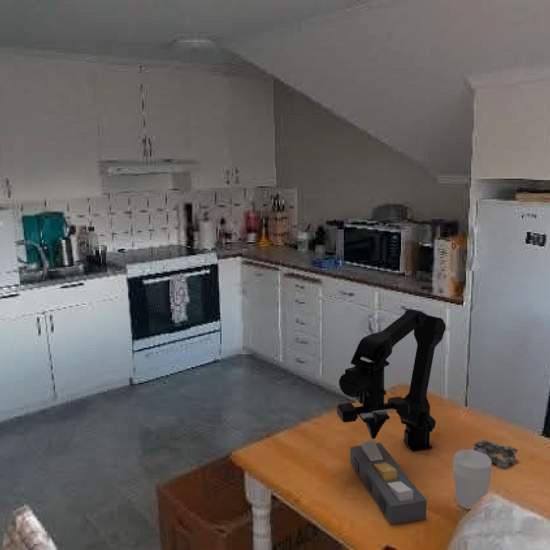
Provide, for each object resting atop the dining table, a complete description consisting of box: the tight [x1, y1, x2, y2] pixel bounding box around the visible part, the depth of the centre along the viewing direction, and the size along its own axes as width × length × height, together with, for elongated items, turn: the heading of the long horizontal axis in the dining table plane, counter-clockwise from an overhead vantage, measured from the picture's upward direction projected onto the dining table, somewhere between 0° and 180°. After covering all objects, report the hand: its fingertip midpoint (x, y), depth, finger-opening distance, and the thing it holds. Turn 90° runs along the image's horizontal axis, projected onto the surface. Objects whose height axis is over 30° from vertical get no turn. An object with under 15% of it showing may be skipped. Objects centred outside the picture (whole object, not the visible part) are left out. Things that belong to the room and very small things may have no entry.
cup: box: [452, 449, 493, 511], centre depth 138 cm, size 9×9×12 cm
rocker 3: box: [387, 481, 413, 502], centre depth 136 cm, size 4×7×2 cm, turn 12°
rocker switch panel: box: [349, 442, 428, 526], centre depth 146 cm, size 9×28×5 cm, turn 12°
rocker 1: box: [361, 440, 383, 462], centre depth 154 cm, size 4×7×2 cm, turn 12°
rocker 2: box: [373, 462, 398, 481], centre depth 145 cm, size 4×7×2 cm, turn 12°
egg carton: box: [472, 439, 519, 469], centre depth 158 cm, size 11×8×4 cm
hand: (372, 438), depth 152 cm, fingers closed
